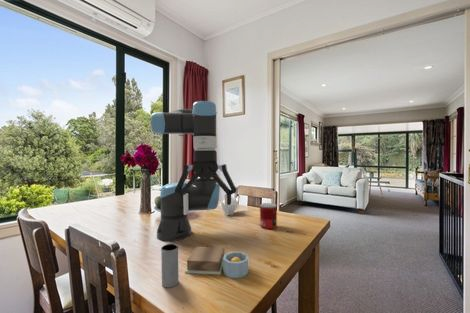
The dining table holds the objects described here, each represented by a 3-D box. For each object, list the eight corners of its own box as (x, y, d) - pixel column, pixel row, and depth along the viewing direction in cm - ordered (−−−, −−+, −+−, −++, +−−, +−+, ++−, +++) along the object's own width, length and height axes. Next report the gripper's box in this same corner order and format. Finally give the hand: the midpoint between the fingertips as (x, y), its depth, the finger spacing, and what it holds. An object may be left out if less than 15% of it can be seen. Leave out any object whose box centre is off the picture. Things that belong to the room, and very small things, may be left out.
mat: (185, 272, 67) (185, 270, 67) (195, 256, 78) (195, 254, 78) (220, 274, 66) (220, 272, 66) (225, 257, 77) (225, 255, 77)
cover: (187, 270, 68) (187, 260, 68) (196, 255, 78) (196, 246, 78) (219, 271, 67) (219, 261, 67) (224, 256, 77) (224, 247, 77)
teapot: (213, 216, 128) (212, 200, 128) (233, 209, 144) (233, 195, 144) (226, 219, 123) (225, 202, 122) (245, 211, 139) (245, 196, 139)
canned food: (276, 230, 104) (276, 207, 104) (259, 229, 105) (259, 206, 105) (276, 224, 111) (276, 203, 111) (261, 224, 113) (260, 202, 113)
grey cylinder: (158, 286, 61) (157, 249, 61) (168, 277, 65) (168, 242, 65) (172, 289, 59) (171, 251, 59) (181, 280, 64) (181, 244, 63)
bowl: (221, 277, 64) (221, 262, 64) (225, 264, 72) (225, 251, 72) (247, 279, 64) (247, 263, 64) (248, 265, 71) (248, 251, 71)
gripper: (163, 150, 69) (165, 216, 70) (242, 149, 67) (243, 218, 67) (172, 150, 77) (173, 210, 77) (243, 149, 74) (244, 211, 75)
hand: (206, 214), depth 72 cm, fingers open, 13 cm apart
